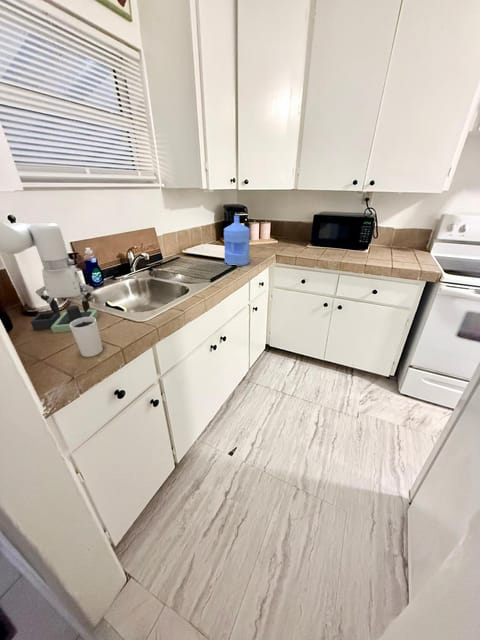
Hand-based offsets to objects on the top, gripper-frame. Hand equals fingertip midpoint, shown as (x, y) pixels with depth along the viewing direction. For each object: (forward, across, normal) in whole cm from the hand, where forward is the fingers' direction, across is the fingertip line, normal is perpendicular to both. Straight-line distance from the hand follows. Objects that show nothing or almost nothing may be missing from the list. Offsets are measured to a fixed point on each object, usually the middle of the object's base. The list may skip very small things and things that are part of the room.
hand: (71, 311), depth 92 cm
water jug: (+4, -73, -66) cm, 98 cm away
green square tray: (+5, 0, 0) cm, 5 cm away
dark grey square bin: (+5, +9, -1) cm, 10 cm away
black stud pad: (+4, 0, 0) cm, 4 cm away
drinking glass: (+5, -11, +20) cm, 24 cm away
